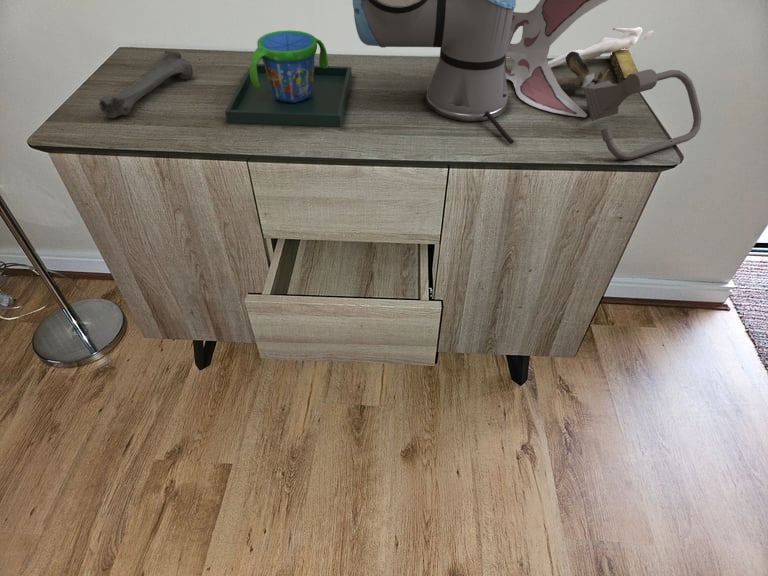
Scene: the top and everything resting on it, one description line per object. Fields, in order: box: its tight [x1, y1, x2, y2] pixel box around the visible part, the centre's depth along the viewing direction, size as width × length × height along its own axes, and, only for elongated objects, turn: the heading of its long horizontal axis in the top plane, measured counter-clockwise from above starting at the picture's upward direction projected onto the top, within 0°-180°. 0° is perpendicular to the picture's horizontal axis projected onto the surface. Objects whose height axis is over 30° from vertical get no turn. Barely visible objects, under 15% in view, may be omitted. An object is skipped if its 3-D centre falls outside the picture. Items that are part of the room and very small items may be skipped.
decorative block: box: [608, 49, 639, 84], centre depth 109 cm, size 15×2×4 cm
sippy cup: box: [249, 29, 329, 103], centre depth 96 cm, size 16×10×10 cm
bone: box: [98, 48, 194, 119], centre depth 98 cm, size 22×6×6 cm, turn 158°
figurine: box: [547, 26, 655, 69], centre depth 110 cm, size 10×4×25 cm
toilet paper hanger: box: [582, 68, 702, 161], centre depth 91 cm, size 22×11×15 cm
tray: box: [224, 63, 353, 128], centre depth 99 cm, size 20×20×2 cm
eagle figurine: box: [557, 52, 610, 90], centre depth 102 cm, size 8×7×9 cm
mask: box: [504, 0, 609, 118], centre depth 103 cm, size 23×12×30 cm
